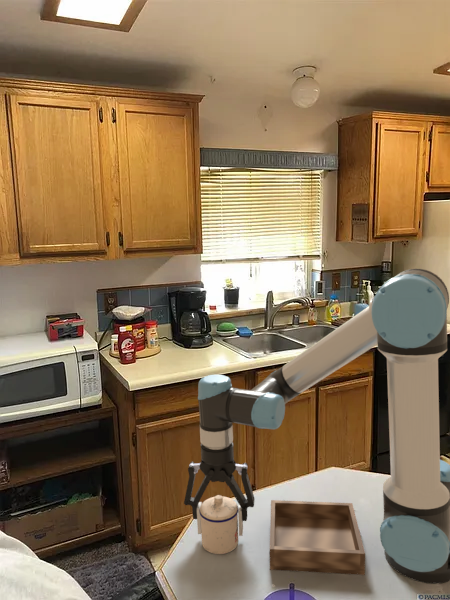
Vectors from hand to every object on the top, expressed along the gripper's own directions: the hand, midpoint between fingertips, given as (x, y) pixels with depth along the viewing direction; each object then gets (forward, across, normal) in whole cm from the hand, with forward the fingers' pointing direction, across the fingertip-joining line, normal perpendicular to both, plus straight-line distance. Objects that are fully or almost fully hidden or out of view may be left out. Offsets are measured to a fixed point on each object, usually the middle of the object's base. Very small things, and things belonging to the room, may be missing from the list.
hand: (220, 531), depth 112 cm
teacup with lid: (+2, +1, 0) cm, 2 cm away
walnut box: (+2, -22, 0) cm, 22 cm away
